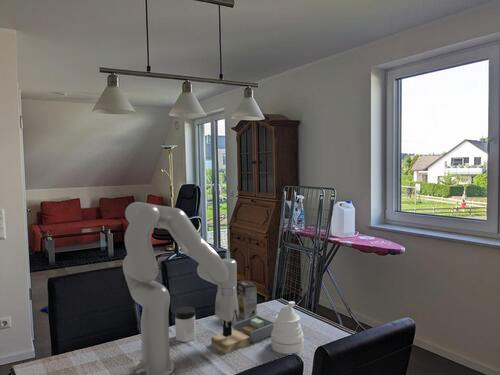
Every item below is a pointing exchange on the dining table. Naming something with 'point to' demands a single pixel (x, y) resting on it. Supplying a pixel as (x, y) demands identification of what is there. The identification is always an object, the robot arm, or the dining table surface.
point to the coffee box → (247, 299)
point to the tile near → (248, 329)
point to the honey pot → (287, 331)
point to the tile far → (257, 323)
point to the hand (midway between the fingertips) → (227, 335)
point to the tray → (259, 333)
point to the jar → (185, 324)
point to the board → (230, 341)
